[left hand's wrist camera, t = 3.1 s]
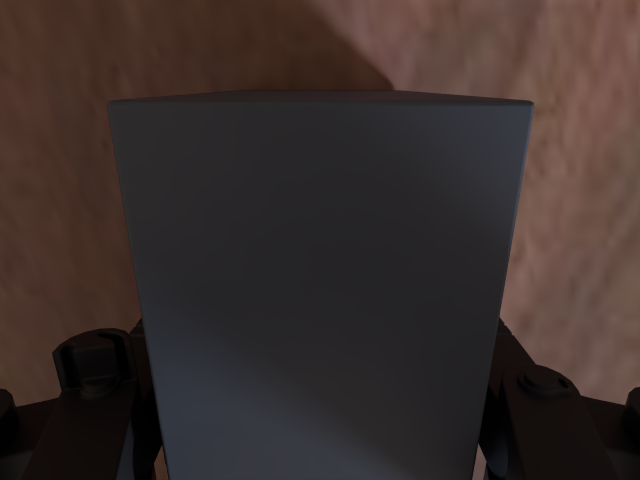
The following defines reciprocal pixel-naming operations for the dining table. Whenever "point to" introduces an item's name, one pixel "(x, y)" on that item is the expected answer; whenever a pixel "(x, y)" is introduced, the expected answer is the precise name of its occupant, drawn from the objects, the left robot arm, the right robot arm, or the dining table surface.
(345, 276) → the bar
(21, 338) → the dining table surface
